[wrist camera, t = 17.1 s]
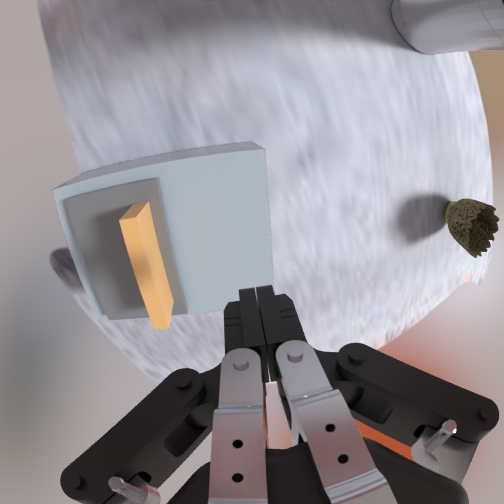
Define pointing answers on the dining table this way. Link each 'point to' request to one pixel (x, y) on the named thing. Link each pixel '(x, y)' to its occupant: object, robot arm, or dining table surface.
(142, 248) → the lid
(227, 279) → the housing
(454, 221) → the cup
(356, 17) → the dining table surface
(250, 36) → the dining table surface
